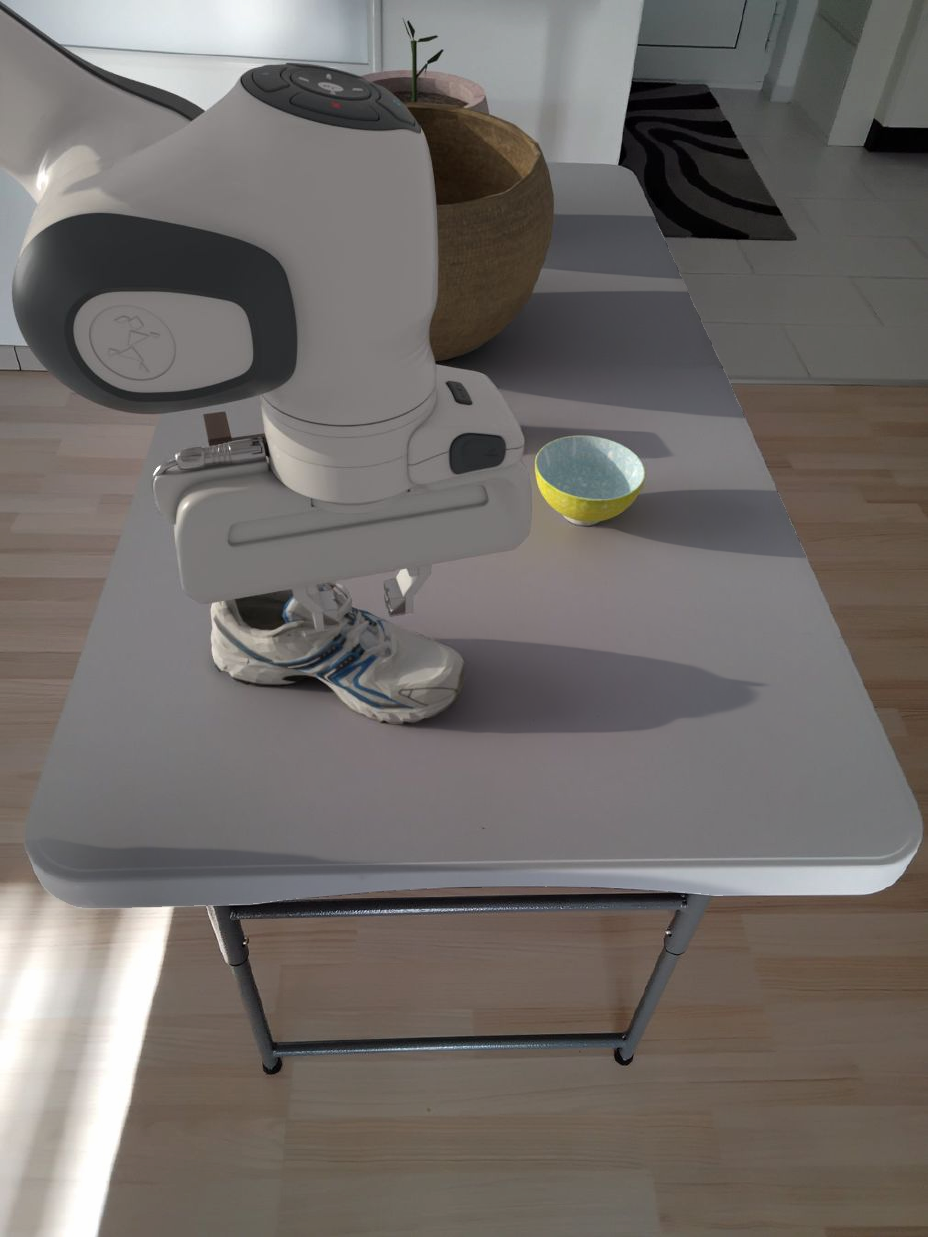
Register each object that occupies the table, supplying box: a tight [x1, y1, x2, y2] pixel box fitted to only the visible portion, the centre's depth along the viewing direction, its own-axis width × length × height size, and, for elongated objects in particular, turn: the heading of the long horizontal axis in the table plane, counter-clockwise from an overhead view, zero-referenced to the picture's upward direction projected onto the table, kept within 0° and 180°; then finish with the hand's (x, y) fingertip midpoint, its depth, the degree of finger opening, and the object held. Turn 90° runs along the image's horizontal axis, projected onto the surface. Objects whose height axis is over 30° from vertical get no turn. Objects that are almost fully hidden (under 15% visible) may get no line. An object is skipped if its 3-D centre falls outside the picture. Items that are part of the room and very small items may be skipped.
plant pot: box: [360, 18, 490, 115], centre depth 138 cm, size 24×24×30 cm
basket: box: [402, 102, 555, 362], centre depth 117 cm, size 35×35×25 cm
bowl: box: [534, 435, 647, 527], centre depth 97 cm, size 11×12×6 cm
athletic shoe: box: [210, 581, 467, 725], centre depth 79 cm, size 10×23×12 cm, turn 83°
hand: (362, 615), depth 57 cm, fingers open, 3 cm apart
